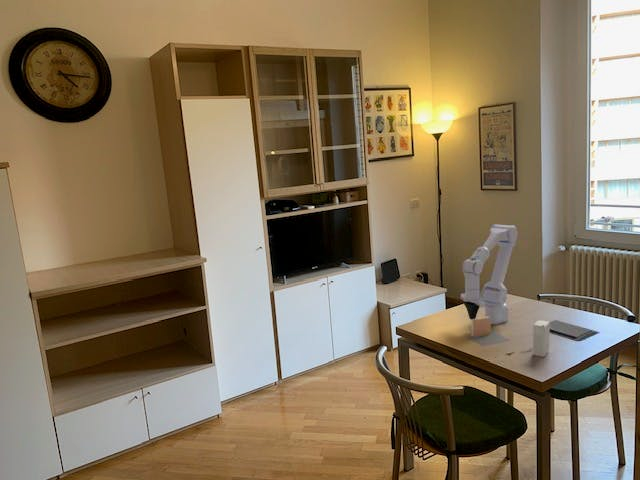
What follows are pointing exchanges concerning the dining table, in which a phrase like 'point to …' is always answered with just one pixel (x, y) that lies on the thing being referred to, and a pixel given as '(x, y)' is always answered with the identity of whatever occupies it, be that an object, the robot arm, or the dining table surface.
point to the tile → (481, 326)
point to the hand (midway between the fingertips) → (472, 318)
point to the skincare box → (541, 338)
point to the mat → (488, 338)
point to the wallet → (570, 331)
